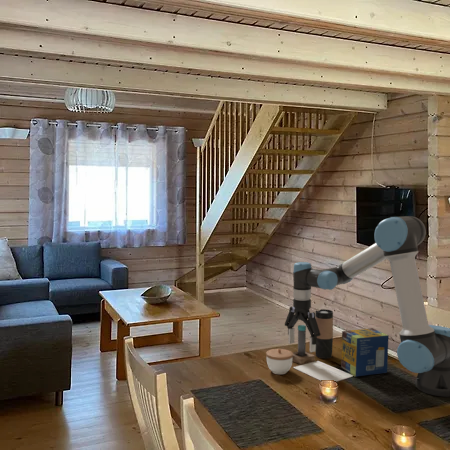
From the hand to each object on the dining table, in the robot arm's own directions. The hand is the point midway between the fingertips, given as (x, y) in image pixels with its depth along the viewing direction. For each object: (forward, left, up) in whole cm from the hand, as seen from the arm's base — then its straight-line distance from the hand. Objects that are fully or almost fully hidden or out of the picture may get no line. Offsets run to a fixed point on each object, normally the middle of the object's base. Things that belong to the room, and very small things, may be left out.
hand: (301, 347), depth 211 cm
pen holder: (0, 0, -6) cm, 6 cm away
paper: (-15, +2, -6) cm, 16 cm away
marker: (0, 0, -6) cm, 6 cm away
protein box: (-23, -13, -6) cm, 27 cm away
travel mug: (-1, -12, -6) cm, 13 cm away
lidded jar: (-5, +16, -6) cm, 18 cm away
